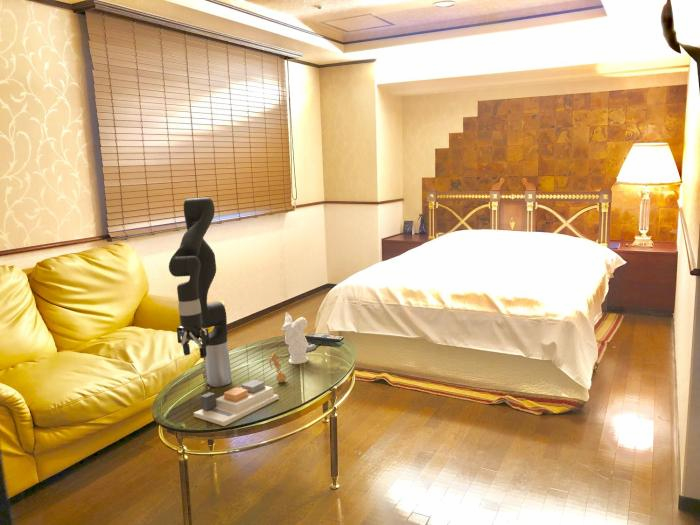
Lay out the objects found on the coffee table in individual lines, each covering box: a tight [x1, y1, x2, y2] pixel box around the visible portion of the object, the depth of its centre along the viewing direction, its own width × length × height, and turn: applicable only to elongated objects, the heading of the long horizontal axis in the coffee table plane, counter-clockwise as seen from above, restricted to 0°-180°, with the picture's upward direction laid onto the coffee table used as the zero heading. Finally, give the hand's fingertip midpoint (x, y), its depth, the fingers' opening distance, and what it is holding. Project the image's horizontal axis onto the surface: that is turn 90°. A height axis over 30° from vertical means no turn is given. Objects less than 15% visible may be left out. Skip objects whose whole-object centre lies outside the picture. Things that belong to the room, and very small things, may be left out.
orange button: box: [223, 386, 248, 402], centre depth 206 cm, size 6×6×3 cm
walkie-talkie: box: [288, 341, 318, 355], centre depth 271 cm, size 9×4×20 cm
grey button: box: [241, 379, 266, 394], centre depth 213 cm, size 6×6×3 cm
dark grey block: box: [200, 391, 217, 411], centre depth 204 cm, size 3×4×5 cm
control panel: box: [193, 385, 279, 427], centre depth 207 cm, size 16×26×4 cm, turn 143°
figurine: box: [268, 352, 287, 384], centre depth 229 cm, size 8×6×12 cm
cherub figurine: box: [280, 311, 309, 365], centre depth 251 cm, size 12×12×22 cm
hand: (195, 356), depth 205 cm, fingers open, 8 cm apart
